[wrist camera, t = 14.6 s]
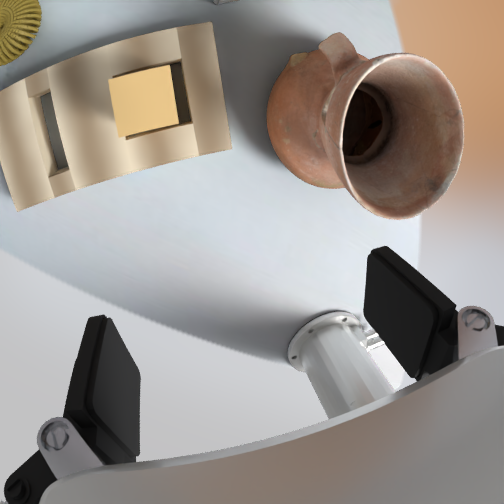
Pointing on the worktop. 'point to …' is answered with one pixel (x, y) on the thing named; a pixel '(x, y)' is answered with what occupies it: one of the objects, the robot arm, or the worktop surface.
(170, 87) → the peg
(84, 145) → the socket board
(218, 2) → the coffee box
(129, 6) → the worktop surface
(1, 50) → the sculpture
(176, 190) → the worktop surface
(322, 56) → the ceramic jug
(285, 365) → the worktop surface
